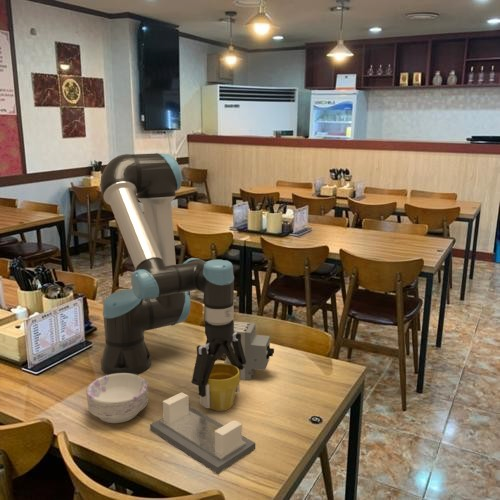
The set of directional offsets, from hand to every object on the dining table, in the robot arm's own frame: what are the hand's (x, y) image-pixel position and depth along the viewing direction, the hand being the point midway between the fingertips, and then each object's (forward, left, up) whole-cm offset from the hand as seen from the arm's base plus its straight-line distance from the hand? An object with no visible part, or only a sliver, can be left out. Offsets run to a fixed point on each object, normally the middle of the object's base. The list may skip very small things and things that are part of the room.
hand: (220, 398), depth 137 cm
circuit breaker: (-6, +18, -2) cm, 19 cm away
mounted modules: (+8, -14, 0) cm, 16 cm away
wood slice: (-22, +26, -2) cm, 34 cm away
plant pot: (0, 0, -2) cm, 2 cm away
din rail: (+8, -14, 0) cm, 16 cm away
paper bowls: (-16, -21, -2) cm, 27 cm away
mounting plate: (+8, -14, -2) cm, 16 cm away
